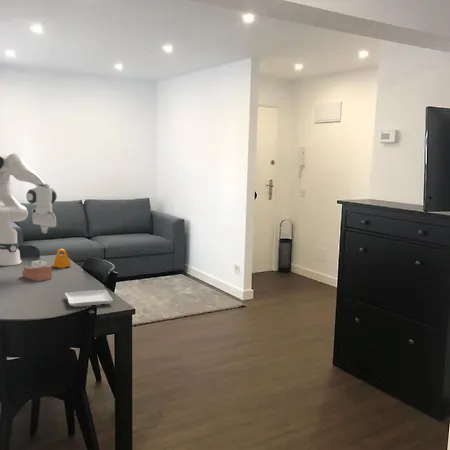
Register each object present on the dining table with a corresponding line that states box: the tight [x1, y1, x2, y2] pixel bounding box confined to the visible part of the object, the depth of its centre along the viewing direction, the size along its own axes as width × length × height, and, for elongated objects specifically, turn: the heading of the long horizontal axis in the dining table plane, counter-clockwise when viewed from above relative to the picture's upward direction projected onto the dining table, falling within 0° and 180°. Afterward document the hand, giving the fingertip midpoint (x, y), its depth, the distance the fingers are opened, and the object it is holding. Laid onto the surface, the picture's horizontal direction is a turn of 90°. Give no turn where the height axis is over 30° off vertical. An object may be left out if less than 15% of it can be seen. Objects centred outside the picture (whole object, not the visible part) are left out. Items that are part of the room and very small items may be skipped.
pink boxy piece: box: [22, 265, 53, 282], centre depth 297 cm, size 16×9×8 cm, turn 53°
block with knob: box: [31, 259, 48, 270], centre depth 295 cm, size 8×5×6 cm, turn 53°
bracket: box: [52, 248, 71, 269], centre depth 330 cm, size 11×7×12 cm, turn 113°
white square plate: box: [64, 289, 114, 308], centre depth 252 cm, size 21×21×3 cm
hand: (44, 232), depth 309 cm, fingers closed
